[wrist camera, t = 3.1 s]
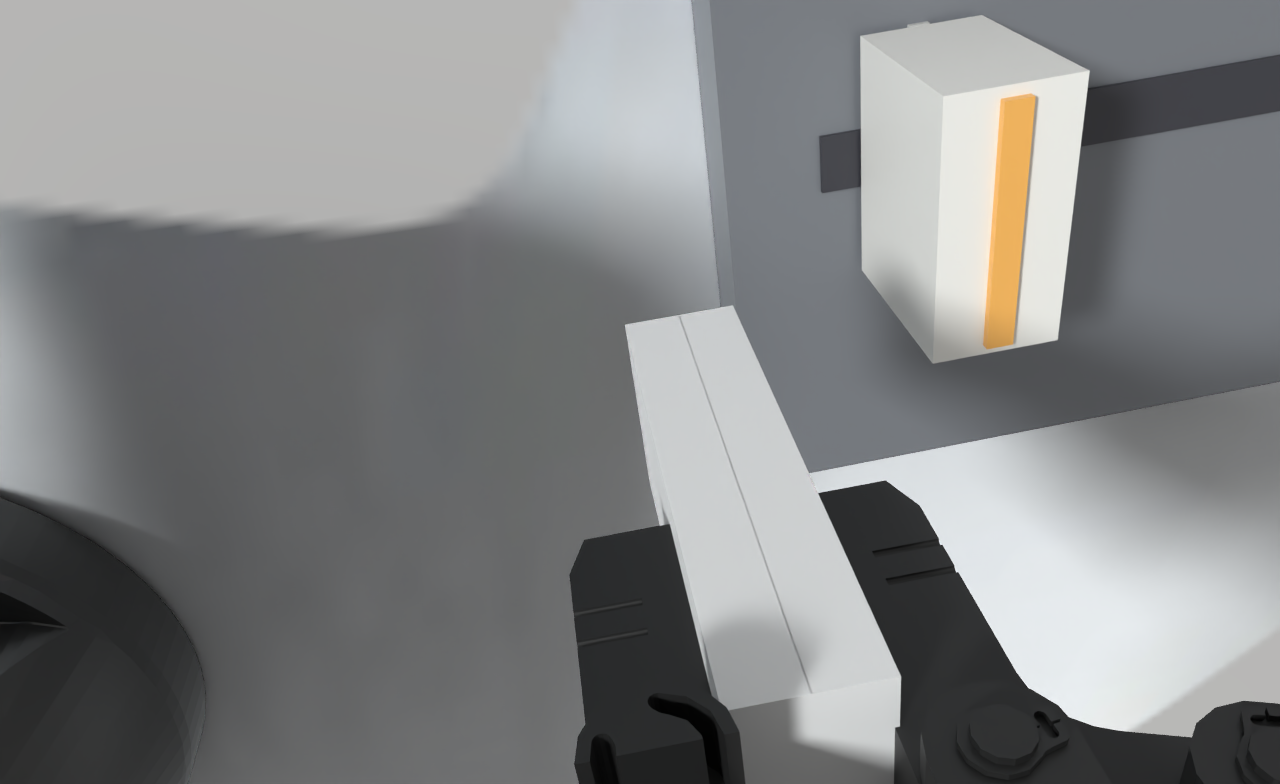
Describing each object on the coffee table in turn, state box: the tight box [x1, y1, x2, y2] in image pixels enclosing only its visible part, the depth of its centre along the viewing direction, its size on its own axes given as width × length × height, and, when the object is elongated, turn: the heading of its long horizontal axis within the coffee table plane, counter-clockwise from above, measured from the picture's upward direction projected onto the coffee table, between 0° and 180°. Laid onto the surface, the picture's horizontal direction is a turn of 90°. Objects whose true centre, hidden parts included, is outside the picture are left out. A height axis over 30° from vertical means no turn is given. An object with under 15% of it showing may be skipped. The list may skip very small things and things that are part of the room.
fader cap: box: [860, 15, 1090, 364], centre depth 19 cm, size 2×5×4 cm, turn 8°
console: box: [691, 0, 1280, 473], centre depth 22 cm, size 22×16×2 cm
